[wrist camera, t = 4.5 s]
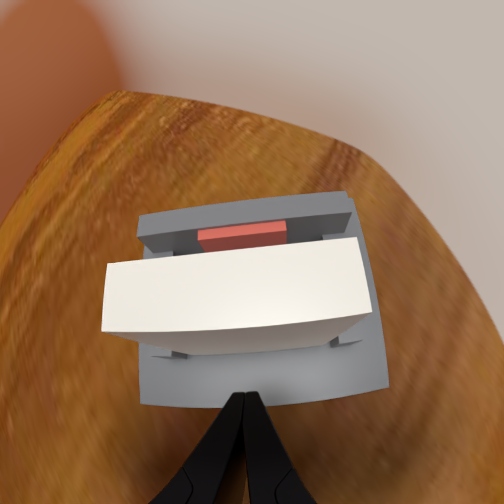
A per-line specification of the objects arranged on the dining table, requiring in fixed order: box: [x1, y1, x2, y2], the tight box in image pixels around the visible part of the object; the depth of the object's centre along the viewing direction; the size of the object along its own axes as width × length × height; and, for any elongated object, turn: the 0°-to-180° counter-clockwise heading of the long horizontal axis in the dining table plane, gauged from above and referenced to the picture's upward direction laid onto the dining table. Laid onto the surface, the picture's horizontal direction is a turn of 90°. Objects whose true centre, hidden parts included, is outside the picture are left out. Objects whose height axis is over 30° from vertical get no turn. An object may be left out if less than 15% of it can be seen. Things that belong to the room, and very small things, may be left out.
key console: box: [137, 191, 389, 408], centre depth 14 cm, size 12×14×6 cm
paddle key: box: [102, 237, 372, 355], centre depth 11 cm, size 2×7×8 cm, turn 94°
